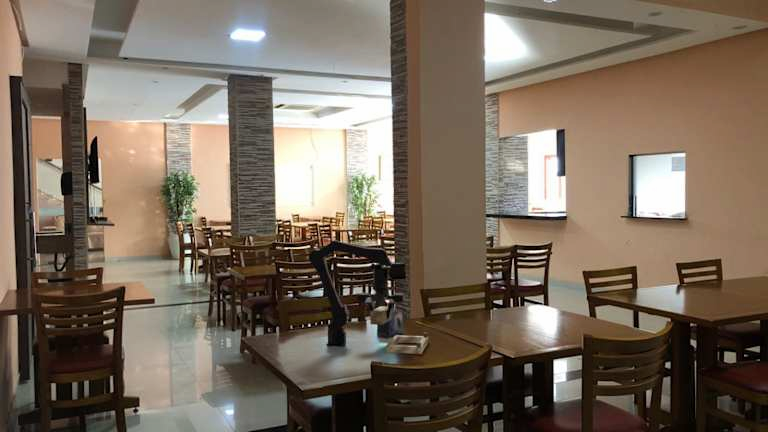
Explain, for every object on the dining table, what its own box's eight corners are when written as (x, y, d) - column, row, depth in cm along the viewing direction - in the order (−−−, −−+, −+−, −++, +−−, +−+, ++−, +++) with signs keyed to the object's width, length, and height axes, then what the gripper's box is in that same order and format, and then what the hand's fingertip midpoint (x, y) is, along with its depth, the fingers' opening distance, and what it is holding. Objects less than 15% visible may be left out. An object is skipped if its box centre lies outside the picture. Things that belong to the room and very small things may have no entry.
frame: (370, 324, 243) (370, 311, 243) (380, 318, 254) (379, 305, 254) (382, 324, 241) (382, 311, 241) (391, 319, 253) (391, 306, 253)
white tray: (385, 352, 234) (385, 342, 234) (395, 341, 252) (395, 331, 252) (421, 354, 231) (421, 343, 231) (428, 342, 249) (428, 332, 249)
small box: (388, 338, 257) (388, 313, 257) (376, 336, 261) (375, 311, 261) (403, 333, 266) (403, 309, 265) (391, 332, 270) (390, 308, 269)
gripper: (352, 282, 241) (353, 322, 242) (400, 283, 237) (400, 323, 238) (359, 278, 252) (360, 317, 253) (405, 279, 248) (405, 318, 249)
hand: (381, 319), depth 248 cm, fingers closed on frame, 5 cm apart
